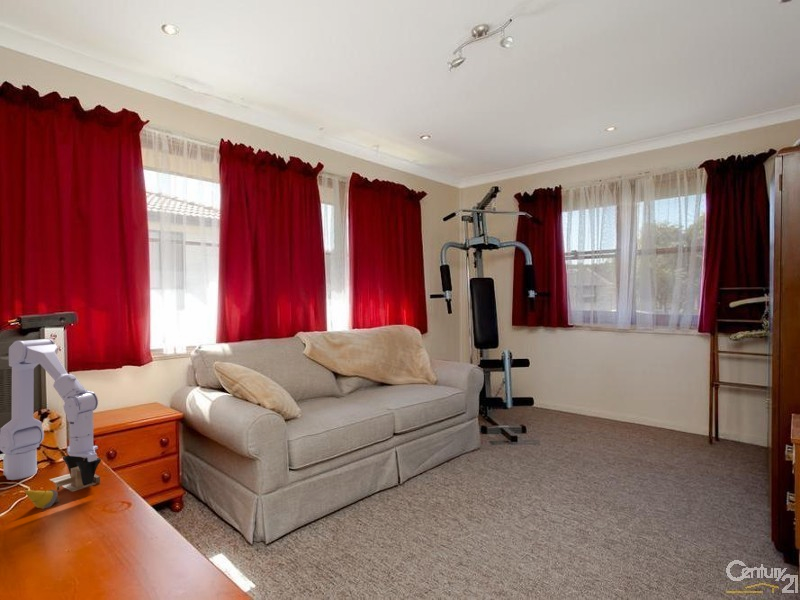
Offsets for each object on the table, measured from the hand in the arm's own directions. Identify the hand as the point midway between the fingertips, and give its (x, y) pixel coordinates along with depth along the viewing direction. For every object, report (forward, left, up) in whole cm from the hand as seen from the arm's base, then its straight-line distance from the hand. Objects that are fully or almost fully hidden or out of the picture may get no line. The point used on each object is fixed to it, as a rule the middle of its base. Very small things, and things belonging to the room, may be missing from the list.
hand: (81, 481), depth 128 cm
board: (-5, 0, -2) cm, 5 cm away
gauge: (0, -2, -1) cm, 2 cm away
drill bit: (+7, -12, -2) cm, 14 cm away
